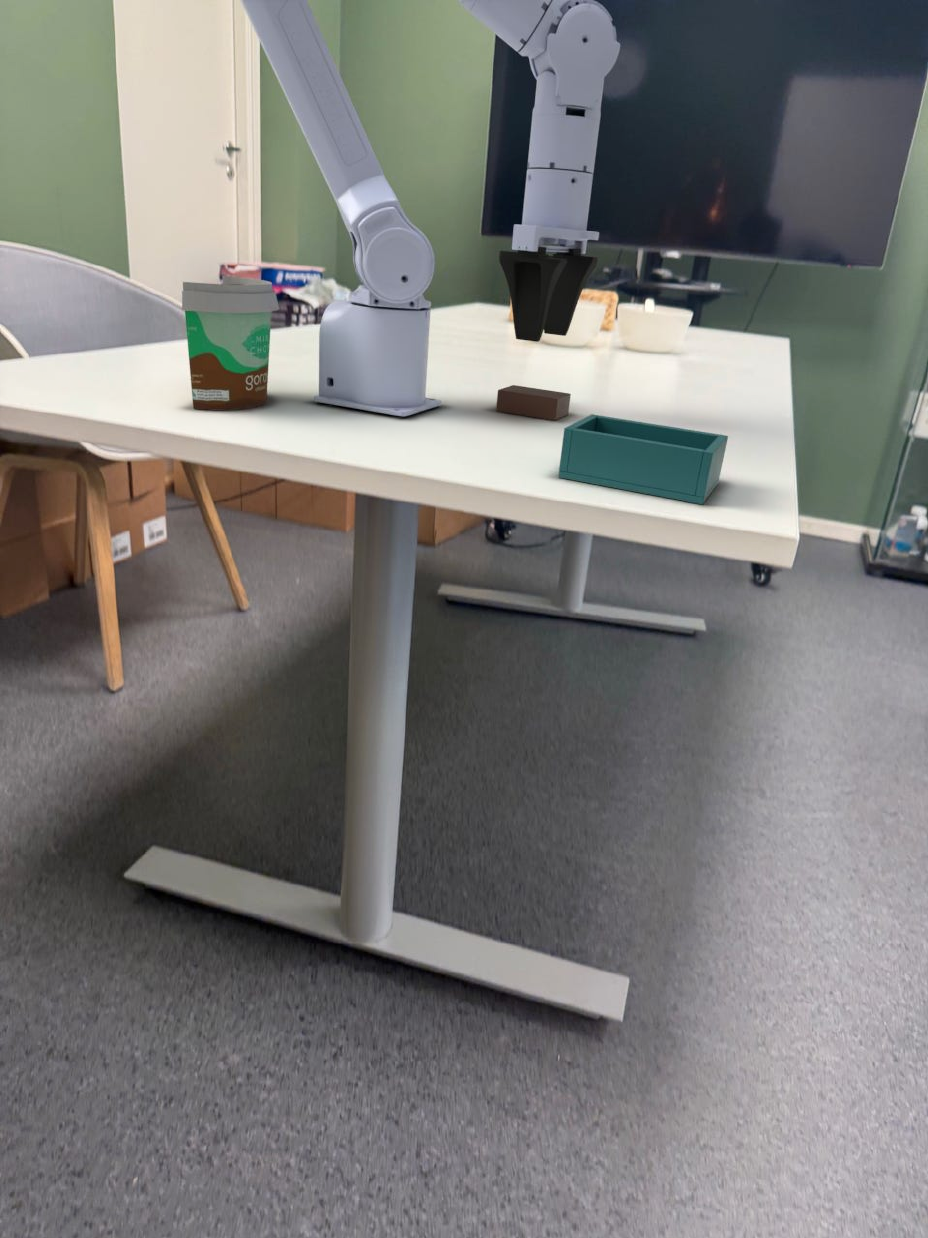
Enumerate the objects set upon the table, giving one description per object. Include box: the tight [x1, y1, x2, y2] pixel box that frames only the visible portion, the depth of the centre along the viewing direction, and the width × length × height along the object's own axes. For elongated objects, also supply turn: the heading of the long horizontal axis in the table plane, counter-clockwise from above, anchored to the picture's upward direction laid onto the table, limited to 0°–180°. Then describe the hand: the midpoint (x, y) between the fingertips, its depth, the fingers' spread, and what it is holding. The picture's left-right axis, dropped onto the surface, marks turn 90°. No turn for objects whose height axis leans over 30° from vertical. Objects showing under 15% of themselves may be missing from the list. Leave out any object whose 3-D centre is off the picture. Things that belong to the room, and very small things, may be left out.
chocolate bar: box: [495, 384, 572, 422], centre depth 81 cm, size 6×4×2 cm, turn 66°
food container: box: [181, 275, 280, 411], centre depth 73 cm, size 12×6×10 cm, turn 179°
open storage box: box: [558, 414, 729, 505], centre depth 60 cm, size 10×7×4 cm, turn 66°
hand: (542, 337), depth 79 cm, fingers open, 7 cm apart
